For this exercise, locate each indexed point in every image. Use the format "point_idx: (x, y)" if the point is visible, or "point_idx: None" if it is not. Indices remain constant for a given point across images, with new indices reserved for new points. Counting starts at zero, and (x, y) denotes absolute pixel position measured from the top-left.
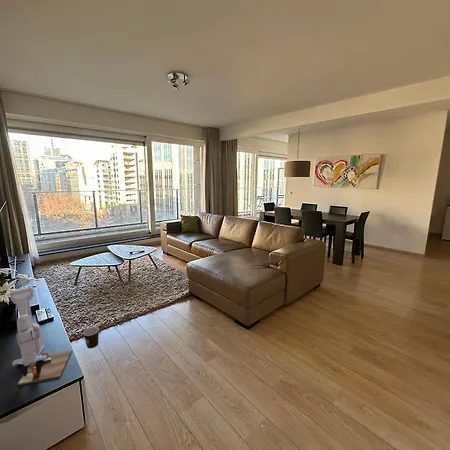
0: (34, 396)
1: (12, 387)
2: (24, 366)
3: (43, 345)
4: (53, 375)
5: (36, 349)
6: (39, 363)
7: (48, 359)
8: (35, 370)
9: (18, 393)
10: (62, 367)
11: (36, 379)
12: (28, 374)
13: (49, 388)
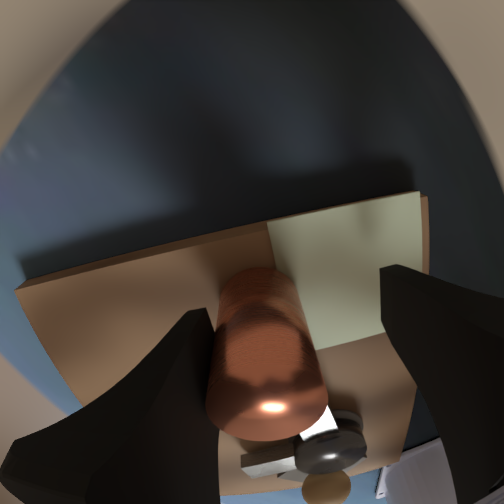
0: (105, 35)
1: (449, 170)
2: (470, 410)
3: (381, 496)
4: (67, 300)
5: (404, 493)
6: (15, 490)
7: (261, 466)
8: (227, 355)
9: (333, 67)
10: (74, 383)
11: (224, 250)
12: (377, 323)
13: (24, 148)
